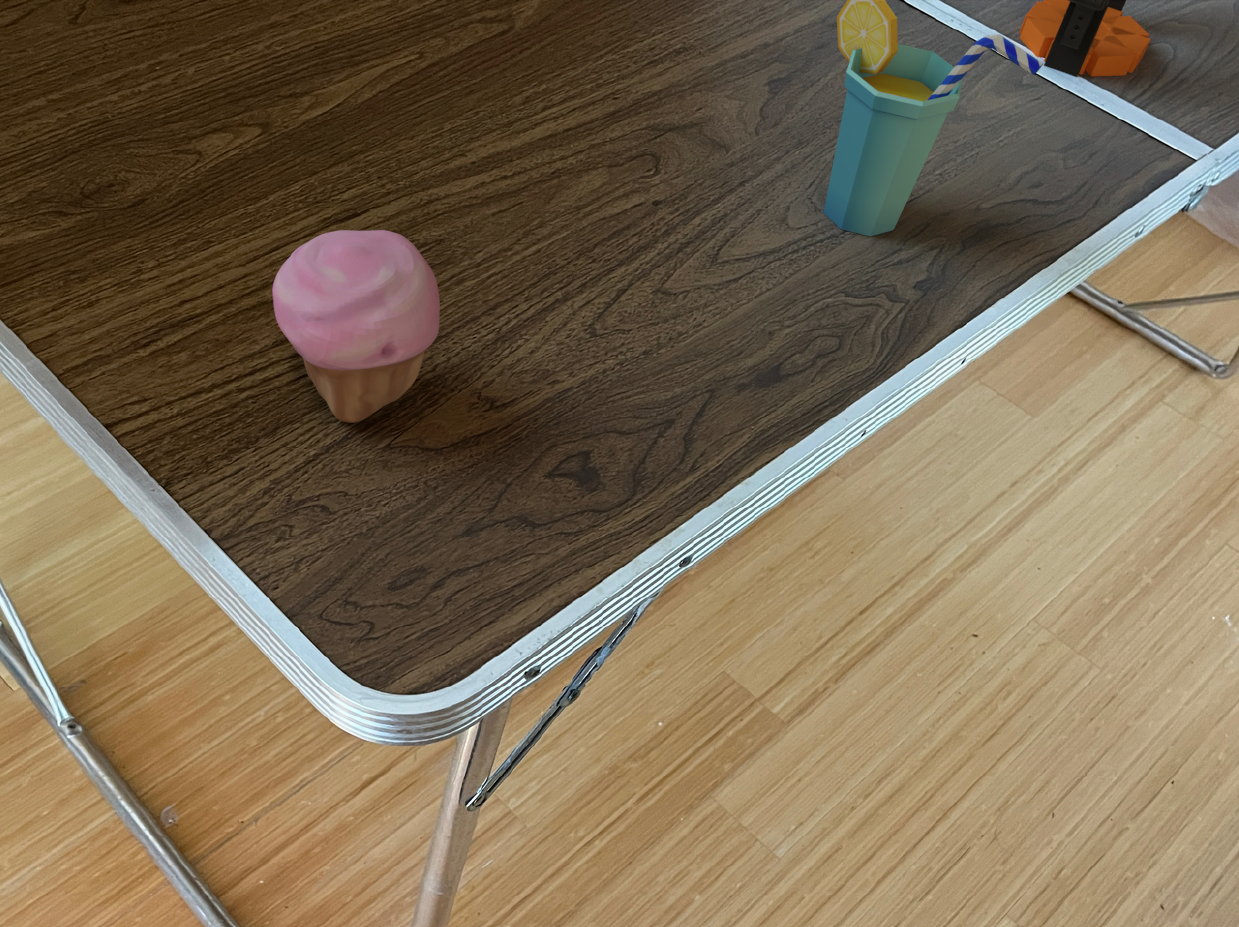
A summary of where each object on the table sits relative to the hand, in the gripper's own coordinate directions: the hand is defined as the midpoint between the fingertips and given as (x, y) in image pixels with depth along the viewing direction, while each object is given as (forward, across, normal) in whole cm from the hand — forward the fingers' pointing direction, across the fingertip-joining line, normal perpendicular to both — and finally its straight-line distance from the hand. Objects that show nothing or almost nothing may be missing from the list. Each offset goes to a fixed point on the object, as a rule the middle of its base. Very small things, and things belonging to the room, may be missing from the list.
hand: (1075, 56), depth 104 cm
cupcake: (+1, +68, -21) cm, 71 cm away
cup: (+1, +32, -4) cm, 33 cm away
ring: (+1, 0, 0) cm, 1 cm away
